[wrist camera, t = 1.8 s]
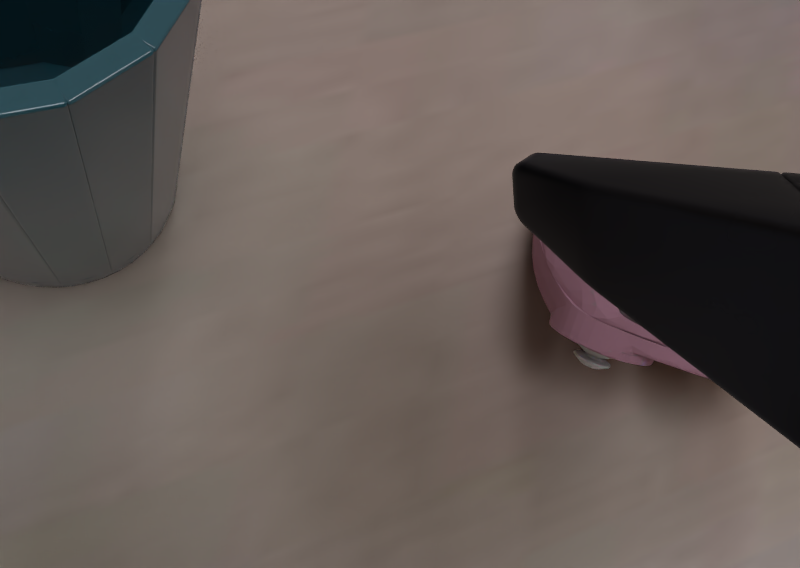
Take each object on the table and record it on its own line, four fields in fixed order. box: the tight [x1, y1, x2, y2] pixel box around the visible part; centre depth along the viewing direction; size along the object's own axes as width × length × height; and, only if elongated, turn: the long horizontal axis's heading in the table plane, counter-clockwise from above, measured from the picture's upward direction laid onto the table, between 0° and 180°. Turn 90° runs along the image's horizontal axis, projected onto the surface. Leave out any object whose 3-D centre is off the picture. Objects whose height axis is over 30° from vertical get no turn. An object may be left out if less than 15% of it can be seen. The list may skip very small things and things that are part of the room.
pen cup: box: [0, 0, 202, 287], centre depth 15 cm, size 7×7×13 cm
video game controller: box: [532, 234, 709, 379], centre depth 25 cm, size 10×5×7 cm, turn 77°
